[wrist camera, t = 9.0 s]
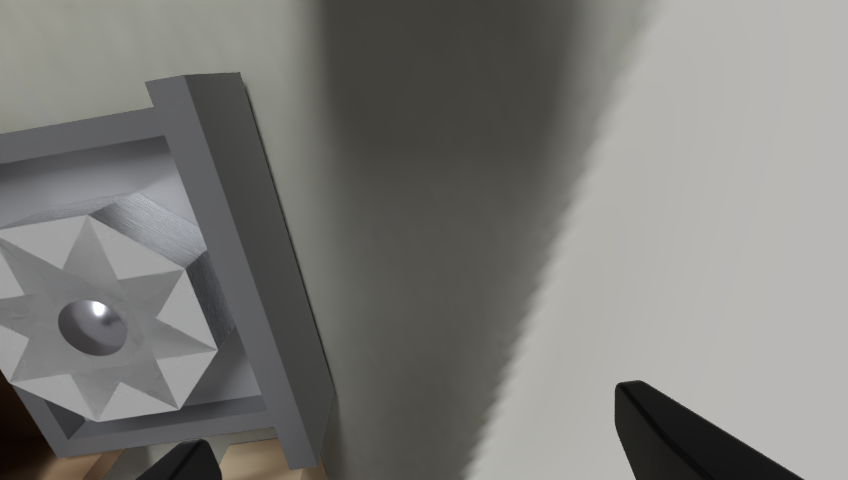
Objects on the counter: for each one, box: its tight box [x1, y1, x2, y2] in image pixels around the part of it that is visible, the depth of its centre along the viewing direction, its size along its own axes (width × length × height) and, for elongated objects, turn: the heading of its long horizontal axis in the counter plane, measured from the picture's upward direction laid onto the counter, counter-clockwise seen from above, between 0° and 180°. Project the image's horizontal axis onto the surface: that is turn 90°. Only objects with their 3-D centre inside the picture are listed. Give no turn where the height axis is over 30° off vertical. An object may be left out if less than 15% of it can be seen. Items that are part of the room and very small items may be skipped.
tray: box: [0, 72, 335, 470], centre depth 15 cm, size 11×13×4 cm
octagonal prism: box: [0, 192, 236, 422], centre depth 15 cm, size 7×7×2 cm
